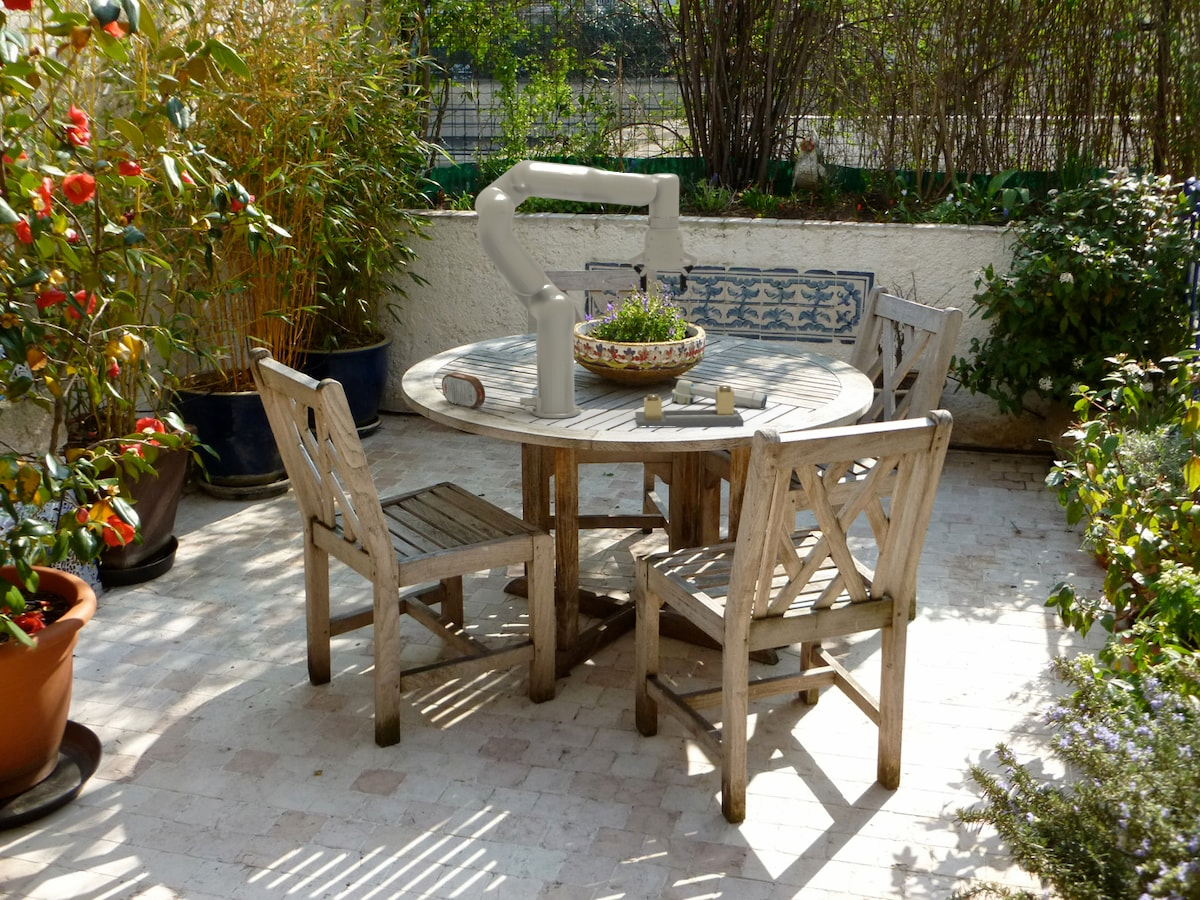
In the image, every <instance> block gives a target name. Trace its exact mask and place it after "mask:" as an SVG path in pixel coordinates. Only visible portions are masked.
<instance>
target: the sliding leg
mask: <svg viewBox="0 0 1200 900" xmlns="http://www.w3.org/2000/svg"><path fill="white" fill-rule="evenodd" d="M718 387H719V389H716V400H715V408H714V409H715V412H716V414H717V415H733V414H734V409H735V404H734V391H733V390H732V389H733V388H731V385H728V384H727V385H719V386H718Z"/></svg>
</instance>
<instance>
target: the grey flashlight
mask: <svg viewBox="0 0 1200 900" xmlns="http://www.w3.org/2000/svg"><path fill="white" fill-rule="evenodd" d="M716 389H719V386H714V385H713V386H712V385H706V384H700V383H699V384H697V383H693V382H692V381H691V380H686V379H679V380H678V381H677V382H676V384H675V389H672V390H671V394H672V399H671V401H673V402H674V403H676V402H677V404H680V405H683V404H687V405H691V404H693V403H694V399H695V397H702V398H704V399H711V400H715V401H716ZM731 389H732V390H733V391H734V405H739V406H744V407H746V408H747V407H748V408H749V409H756V408H764V407H765V408H766V404H767V401H768V400H767V399H768V395H767V394H762V393H758V392H755V390H753V391H746V390H740V389H733V388H731ZM765 408H764V409H765Z"/></svg>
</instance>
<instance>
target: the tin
mask: <svg viewBox="0 0 1200 900" xmlns="http://www.w3.org/2000/svg"><path fill="white" fill-rule="evenodd" d="M441 390H442V394H443V396H444V398H445V399H446V400H447V402H448V403H450V402H453V403H456V404H460V405H463V406H462V407H464V406H466V407H465V408H467V407H470V408H469V409H476V408H478V406H480V407H482V406H483V404H484V403H485V401H486V391H485V387H484V385H483V383H482V381H481V380H480V379H479V378H477V377H476V376H473V375H470V374H465V373H462V372H457V371H453V372H450V373H448V374H445V375H444V376H443V378H442V380H441ZM456 404H455V405H456ZM460 405H459V406H460Z"/></svg>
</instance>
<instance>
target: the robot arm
mask: <svg viewBox="0 0 1200 900" xmlns="http://www.w3.org/2000/svg"><path fill="white" fill-rule="evenodd" d="M529 197H534V198H542V199H552V200H553V199H556V200H564V201H565V200H567V201H574V202H575V201H576V202H585V203H604V204H605V203H606V204H613V205H615V204H616V205H624V206H626V205H627V206H635V207H644V206H647V205H648V218H644V219H642V222H643V224H642V225H644V226H645V225H646V226H647V227H648V228H647V229H645V235H644V242H643V243H644V244H643V251H641V252H640V253H638V254H636V255H634V256H631V257H630V258H629V263H630V264H631V267H632V268H633V270H634V271H635V272H636V273H637V274H638V275H639V278H640V280H639V281H640V282H639V283H640V284H639V288H640V290H642V292H643V293H646V292H647V276H646V274H647V273H648V272H649V271H650V270H652V271H653V270H657V271H658V270H662V271H663V270H678V271H679V272H680V275H679V291H680V292H681V293H682V292H684V291H685V290H684V289H686V288H687V276H688V275H689V274H690V273H691V272H692V271H693V270H694V267H695V265H696V263H697V262H698V258H697V257H695V256H694V255H691V254H690V253H688V252H685V246H684V236H683V235H684V233H683V229H681V228H679V226H680V225H679V224H680V223H679V220H680V217H679V216H680V211H679V210H680V178H679V176H678V175H677V174H676V173H654V174H644V173H635V172H631V173H630V172H629V173H627V172H625V173H623V172H617V171H607V170H603V169H599V168H595V167H590V166H586V165H577V164H576V165H575V164H566V163H555V162H548V161H547V162H545V161H539V160H538V161H536V160H531V159H525V160H521V161H518V162H517V163H515V164H514V165H513V166H512V167H510V169H508V170H507V171H506V172H504V173H503V174H502V175H501V176H499V177H498V178H497V179H495V180H494V181H493V182H491V184H489V185H488V186H487V187H485V188H483V190H482V191H481V192H479V194H478V195H477V197H476V199H475V204H474V208H475V212H476V215H477V216H478V221H477V238H478V242H479V244H480V247H481V249H482V251H483V252H484V254H485V255H486V256H487V257H488V259H489V260H490V261H491V262H492V264H493V265H494V266H495V268H496V269H497V270H498V272H499V273H500V274H501V276H502V280H503V282H504V284H505V285H506V286H507V288H508V289H509V290H510V291H511V293H512V294H513V295H514V296H515V297H516V299H517V300H518V301H519V303H521V304H522V306H524V308H525V309H526V310H527V311H528V312H529V313H530V314H531V315H532V317H533V318H534V319H536V320H537V321H536V322H537V323H536V324H537V325H536V327H537V328H536V340H535V342H536V344H535V345H536V346H535V347H536V386H537V387H536V390H537V393H536V394H535V396H532V397H520V398H519V405H520V406H524V407H532V408H531V414H532V415H533V416H536V417H538V418H545V419H567V418H572V417H576V416H579V414H581V411H582V409H581V407H580V406H579V405H576V404H575V351H574V350H575V344H574V343H575V341H574V340H575V328H576V327H575V326H576V317H577V315H576V308H575V304H574V302H573V300H572V298H571V297H570V296H569V295H568V294H566V293H565V292H563V291H561V290H559V288H558V287H557V286H556V285H555V284H554V283H553V282H552V280H551V279H550V278H549V277H548V276H547V275H546V273H545V269H544V268H543V266H542V265H541V264H540V263H539V261H538V260H536V259H535V258H534V257H533V256H532V255H531V254H530V253H529V251H528V250H527V248H525V246H524V245H523V244H522V242H521V241H520V240H519V239H518V237H517V236H516V235H515V233H514V231H513V227H512V226H513V225H512V224H513V220H514V217H515V214H516V213H515V212H516V208H517V207H518V206H520V205H521V204H523V202H524V201H526V200H527V199H528V198H529ZM642 259H643V266H642V268H641V267H639V265H638V264H637V262H638V261H639V260H642ZM685 259H687V260H689V261H690V262H689V264H688V265H687V266H686V267H685V268H684V263H685Z"/></svg>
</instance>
